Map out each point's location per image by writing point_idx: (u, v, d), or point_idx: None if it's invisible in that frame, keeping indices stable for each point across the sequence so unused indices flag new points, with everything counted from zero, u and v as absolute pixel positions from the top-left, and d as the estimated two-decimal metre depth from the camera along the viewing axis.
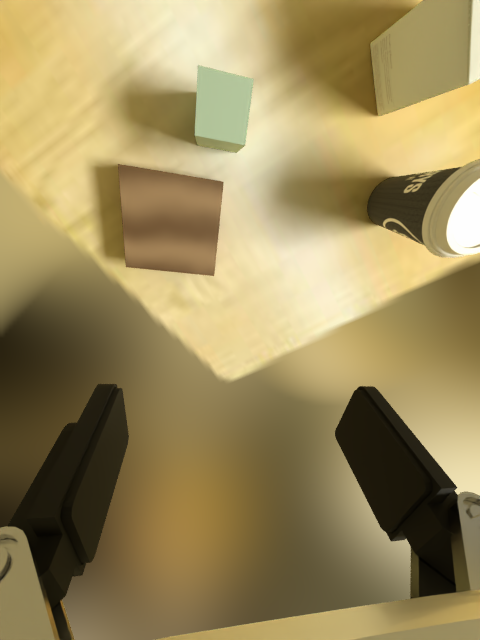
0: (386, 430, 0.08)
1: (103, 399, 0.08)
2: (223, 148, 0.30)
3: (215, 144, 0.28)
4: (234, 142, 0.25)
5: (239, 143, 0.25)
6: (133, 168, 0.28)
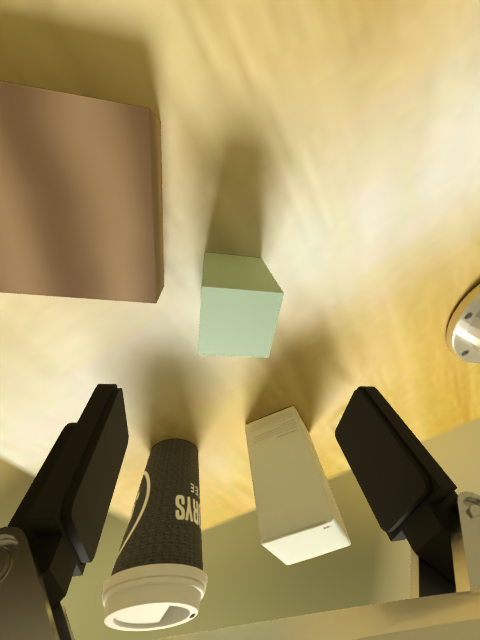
0: (386, 430, 0.08)
1: (103, 399, 0.08)
2: None
3: None
4: (199, 341, 0.16)
5: (199, 347, 0.17)
6: (147, 143, 0.14)
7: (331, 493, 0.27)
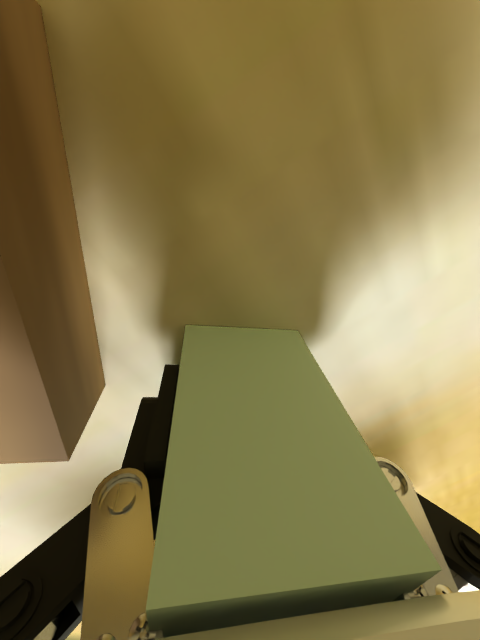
0: None
1: (173, 376, 0.09)
2: None
3: None
4: None
5: None
6: None
7: None
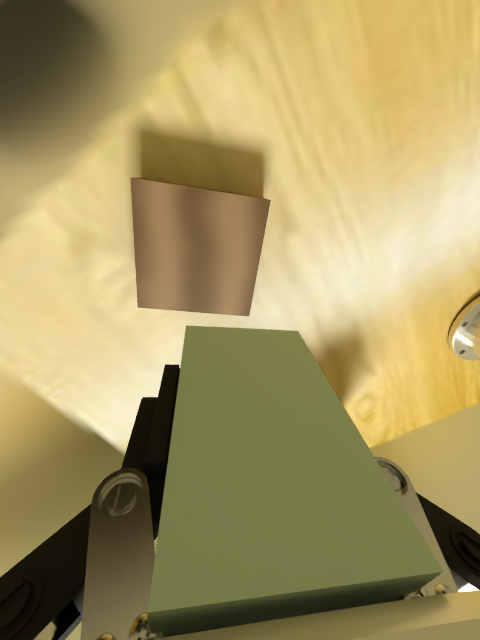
0: None
1: (173, 376, 0.09)
2: None
3: None
4: None
5: None
6: (265, 219, 0.23)
7: None
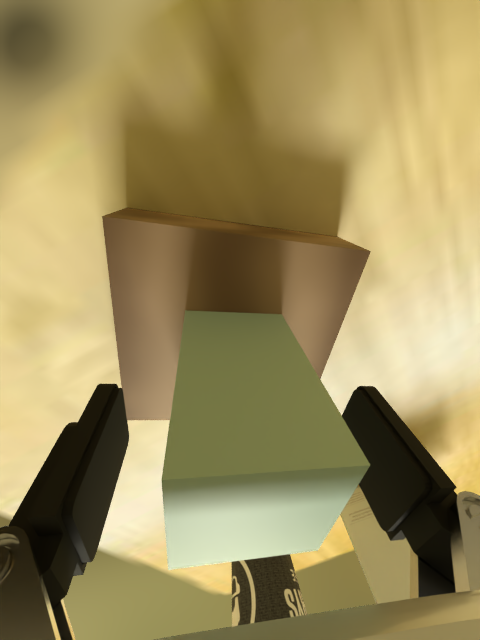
0: (386, 430, 0.08)
1: (103, 399, 0.08)
2: None
3: None
4: (169, 552, 0.07)
5: None
6: (355, 282, 0.13)
7: None
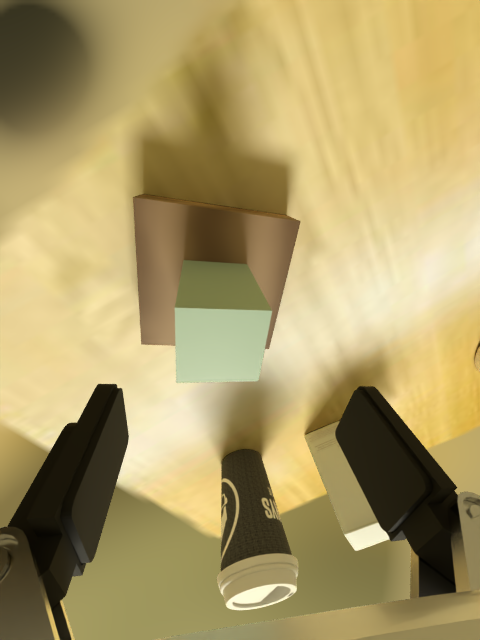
0: (386, 430, 0.08)
1: (103, 399, 0.08)
2: None
3: None
4: (177, 368, 0.14)
5: (177, 374, 0.14)
6: (293, 242, 0.20)
7: None
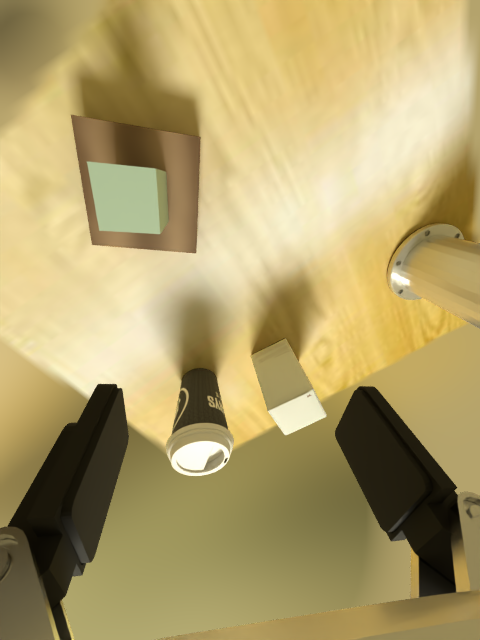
0: (386, 430, 0.08)
1: (103, 399, 0.08)
2: None
3: None
4: (97, 216, 0.21)
5: (99, 223, 0.21)
6: (198, 155, 0.26)
7: None
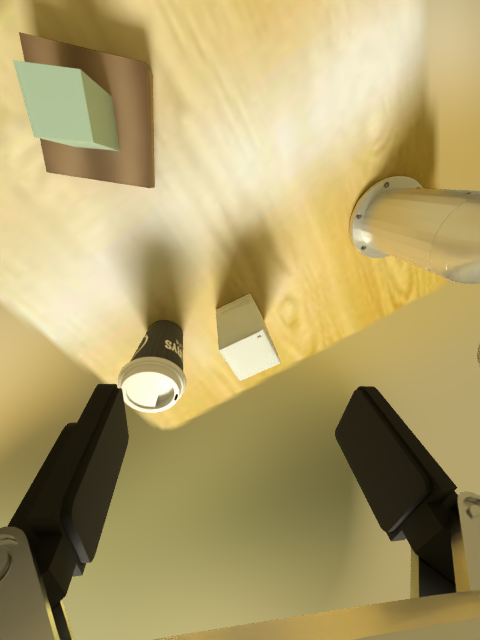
0: (386, 430, 0.08)
1: (103, 399, 0.08)
2: None
3: None
4: (31, 121, 0.22)
5: (33, 129, 0.22)
6: (145, 82, 0.27)
7: None
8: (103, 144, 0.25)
